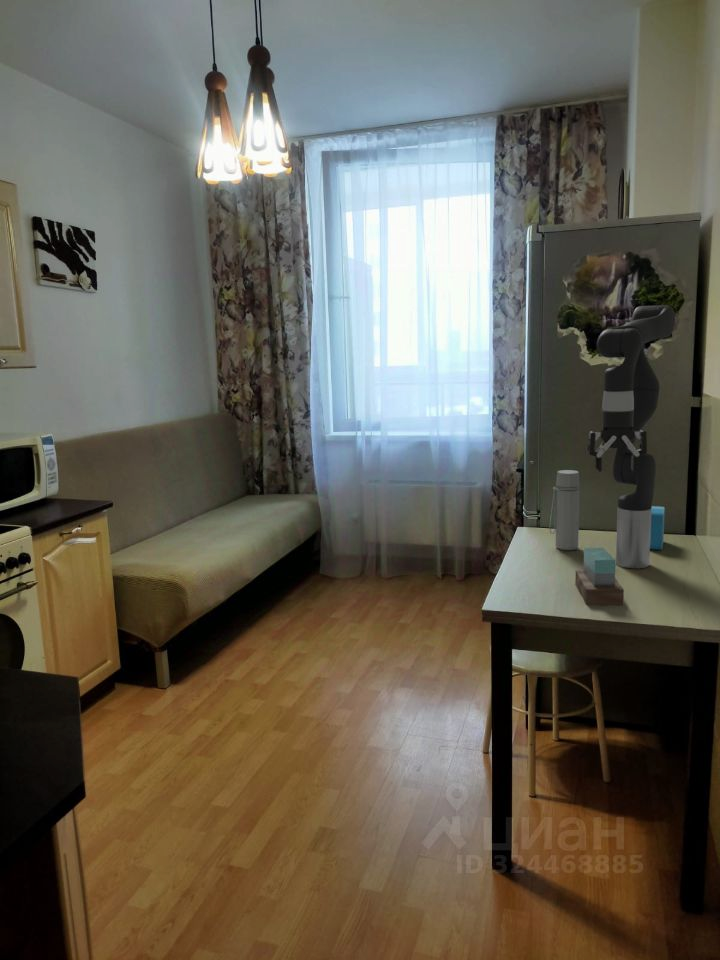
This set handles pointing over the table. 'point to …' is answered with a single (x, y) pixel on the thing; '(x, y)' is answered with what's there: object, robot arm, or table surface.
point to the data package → (657, 527)
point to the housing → (599, 567)
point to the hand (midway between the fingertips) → (616, 470)
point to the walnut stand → (598, 592)
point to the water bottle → (566, 509)
